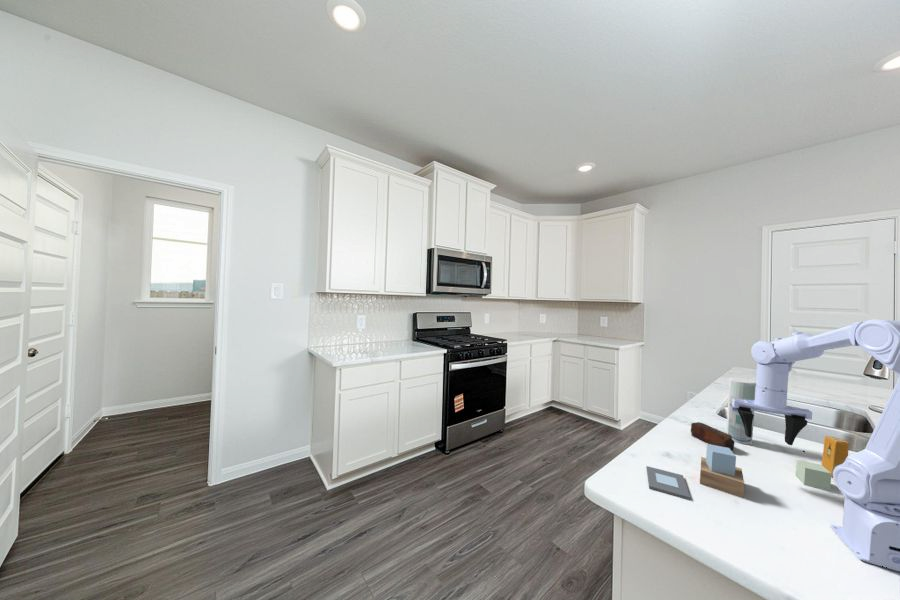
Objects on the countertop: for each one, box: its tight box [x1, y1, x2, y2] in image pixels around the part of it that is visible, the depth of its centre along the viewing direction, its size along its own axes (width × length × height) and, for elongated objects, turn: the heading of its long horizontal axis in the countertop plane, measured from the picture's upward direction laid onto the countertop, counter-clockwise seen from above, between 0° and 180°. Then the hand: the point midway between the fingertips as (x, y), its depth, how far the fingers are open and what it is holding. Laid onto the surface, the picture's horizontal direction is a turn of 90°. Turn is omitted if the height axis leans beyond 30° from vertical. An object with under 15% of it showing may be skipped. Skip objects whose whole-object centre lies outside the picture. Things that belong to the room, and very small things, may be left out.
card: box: [646, 465, 691, 501], centre depth 78 cm, size 10×8×1 cm
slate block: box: [705, 443, 737, 476], centre depth 78 cm, size 4×4×5 cm
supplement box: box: [821, 435, 850, 479], centre depth 83 cm, size 3×3×10 cm
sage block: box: [795, 459, 832, 492], centre depth 79 cm, size 4×4×4 cm
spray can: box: [726, 376, 756, 445], centre depth 102 cm, size 6×6×20 cm
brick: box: [690, 421, 735, 451], centre depth 100 cm, size 11×4×5 cm, turn 15°
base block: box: [699, 456, 745, 499], centre depth 79 cm, size 8×8×4 cm
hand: (767, 439), depth 81 cm, fingers open, 7 cm apart
